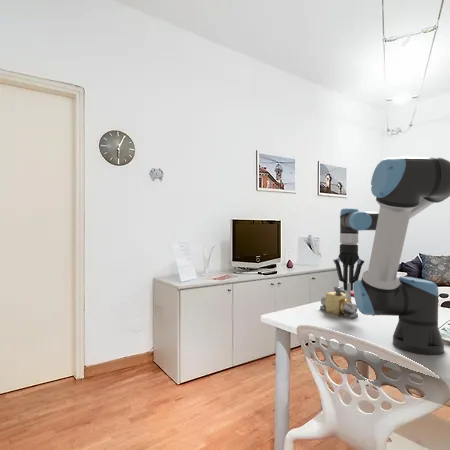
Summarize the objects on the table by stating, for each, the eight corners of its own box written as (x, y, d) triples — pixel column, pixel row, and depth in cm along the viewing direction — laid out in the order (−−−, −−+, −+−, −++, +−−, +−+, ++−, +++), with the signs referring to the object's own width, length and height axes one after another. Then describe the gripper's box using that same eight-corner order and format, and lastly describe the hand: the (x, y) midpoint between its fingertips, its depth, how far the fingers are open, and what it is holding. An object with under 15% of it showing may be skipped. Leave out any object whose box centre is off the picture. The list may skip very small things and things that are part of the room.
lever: (332, 290, 156) (332, 286, 155) (339, 289, 156) (339, 286, 156) (356, 298, 138) (356, 294, 138) (364, 298, 139) (364, 294, 139)
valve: (347, 318, 144) (347, 296, 144) (317, 309, 160) (318, 288, 160) (360, 316, 148) (360, 294, 148) (329, 307, 164) (330, 287, 164)
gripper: (360, 243, 147) (359, 296, 146) (331, 243, 147) (330, 295, 147) (367, 244, 139) (366, 300, 139) (336, 243, 140) (335, 299, 139)
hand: (347, 297), depth 143 cm, fingers closed
